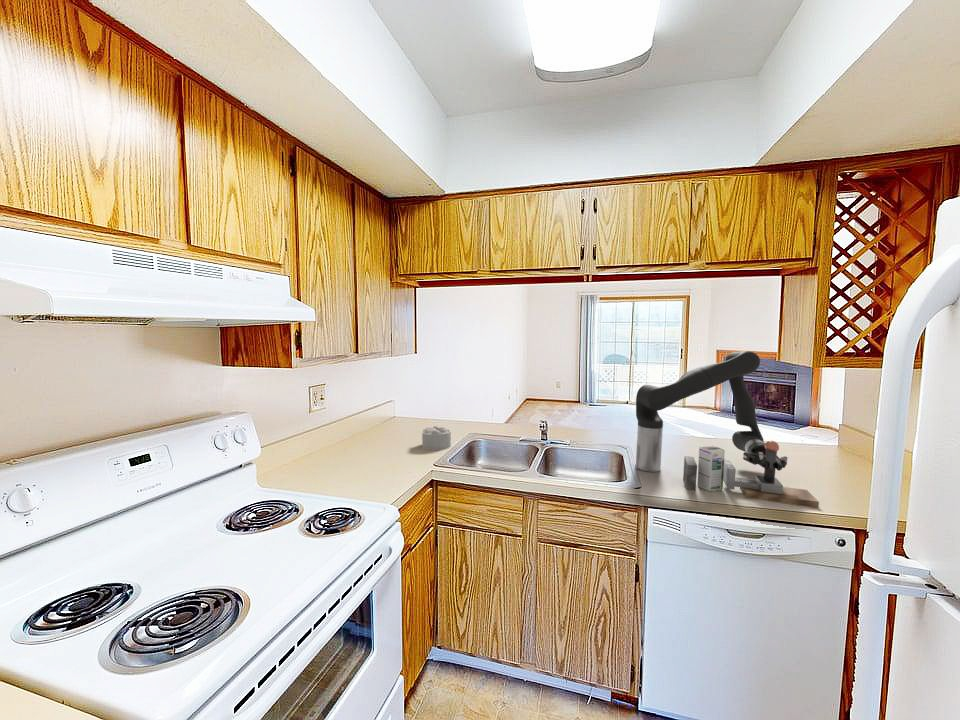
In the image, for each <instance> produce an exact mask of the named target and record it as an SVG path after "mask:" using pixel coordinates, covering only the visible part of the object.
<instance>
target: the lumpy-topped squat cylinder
mask: <svg viewBox="0 0 960 720" xmlns="http://www.w3.org/2000/svg"><path fill="white" fill-rule="evenodd" d="M421 435H422V436H421V437H422V438H421V441H422V442H421V443H422V444H421V446H422V447H421V448H422V450H426V451H437V450H438V451H440V450H447V449H449V448H451V446H452V442H451V441H452V431H451V430H450V429H447V428H445V427H443V426H442V427H441V426H438V425H435V426H433V427H426V428H425V429H423V430H422V433H421Z"/></svg>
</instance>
